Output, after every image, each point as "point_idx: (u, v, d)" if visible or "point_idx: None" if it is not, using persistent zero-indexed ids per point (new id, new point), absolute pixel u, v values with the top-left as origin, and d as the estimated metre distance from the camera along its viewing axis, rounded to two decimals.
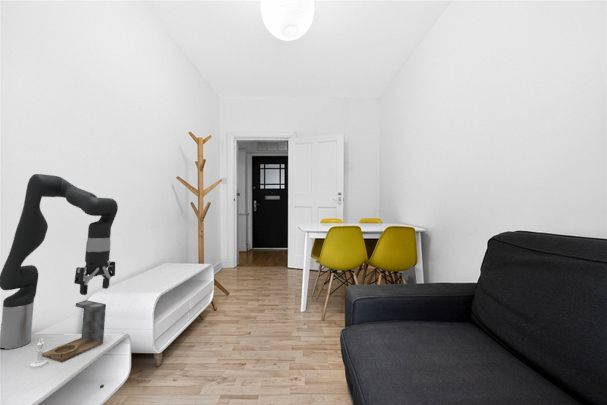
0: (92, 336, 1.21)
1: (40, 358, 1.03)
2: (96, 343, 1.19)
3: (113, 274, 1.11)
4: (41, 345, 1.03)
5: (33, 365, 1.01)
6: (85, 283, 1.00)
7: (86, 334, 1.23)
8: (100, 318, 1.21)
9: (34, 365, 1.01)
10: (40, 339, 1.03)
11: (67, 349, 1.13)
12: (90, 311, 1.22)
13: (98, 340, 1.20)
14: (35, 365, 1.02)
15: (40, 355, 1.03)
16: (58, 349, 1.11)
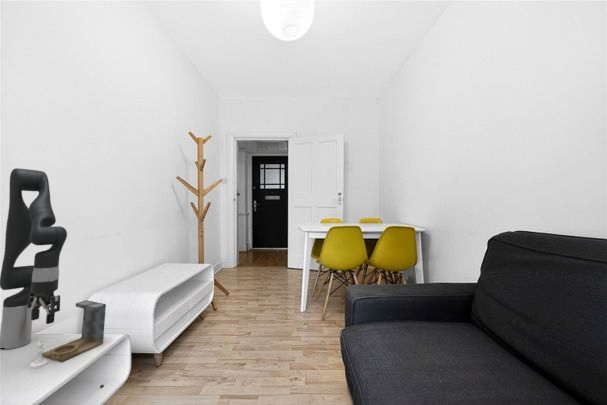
0: (92, 336, 1.21)
1: (40, 358, 1.03)
2: (96, 343, 1.19)
3: None
4: (41, 345, 1.03)
5: (33, 365, 1.01)
6: None
7: (86, 334, 1.23)
8: (100, 318, 1.21)
9: (34, 365, 1.01)
10: (40, 339, 1.03)
11: (67, 349, 1.13)
12: (90, 311, 1.22)
13: (98, 340, 1.20)
14: (35, 365, 1.02)
15: (40, 355, 1.03)
16: (58, 349, 1.11)
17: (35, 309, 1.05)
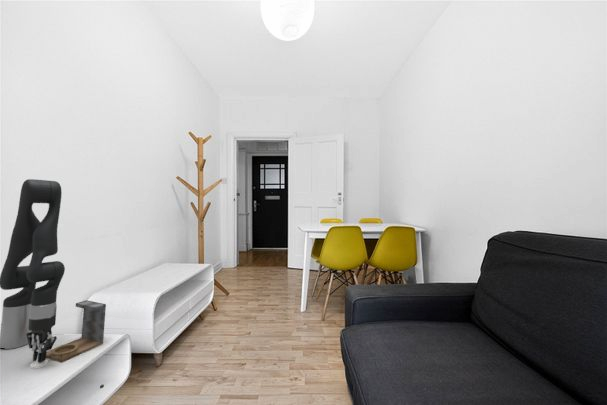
0: (92, 336, 1.21)
1: None
2: (96, 343, 1.19)
3: None
4: None
5: (33, 365, 1.01)
6: None
7: (86, 334, 1.23)
8: (100, 318, 1.21)
9: (34, 365, 1.01)
10: None
11: (67, 349, 1.13)
12: (90, 311, 1.22)
13: (98, 340, 1.20)
14: (35, 365, 1.02)
15: None
16: (58, 349, 1.11)
17: (37, 348, 1.04)
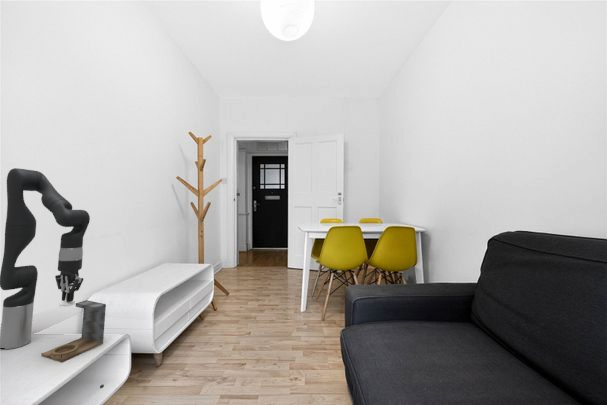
0: (92, 336, 1.21)
1: None
2: (96, 343, 1.19)
3: None
4: None
5: (62, 304, 1.09)
6: None
7: (86, 334, 1.23)
8: (100, 318, 1.21)
9: (63, 304, 1.09)
10: None
11: (67, 349, 1.13)
12: (90, 311, 1.22)
13: (98, 340, 1.20)
14: (64, 304, 1.09)
15: None
16: (58, 349, 1.11)
17: (66, 289, 1.11)
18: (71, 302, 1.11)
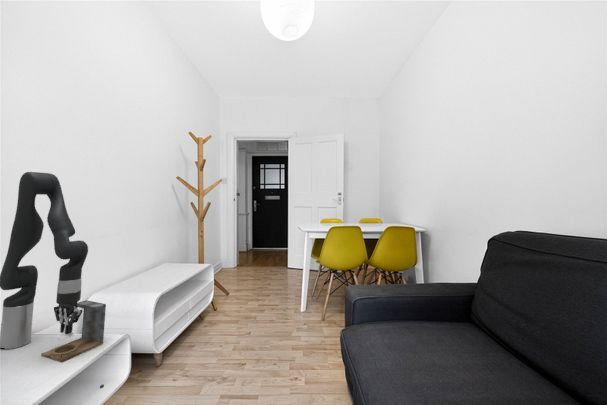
0: (92, 336, 1.21)
1: None
2: (96, 343, 1.19)
3: None
4: None
5: (61, 336, 1.09)
6: None
7: (86, 334, 1.23)
8: (100, 318, 1.21)
9: (62, 336, 1.09)
10: None
11: (67, 349, 1.13)
12: (90, 311, 1.22)
13: (98, 340, 1.20)
14: (62, 336, 1.09)
15: None
16: (58, 349, 1.11)
17: (64, 321, 1.11)
18: (70, 334, 1.11)
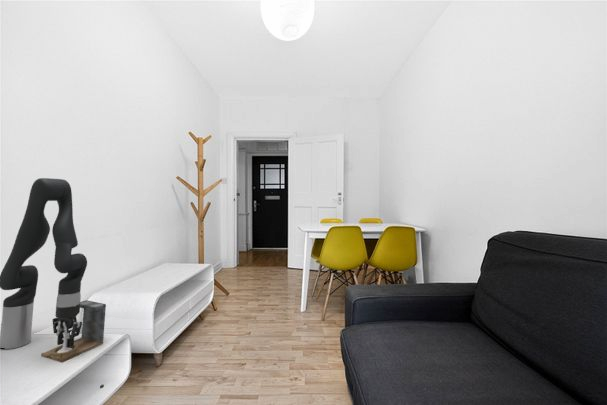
0: (92, 336, 1.21)
1: (65, 346, 1.11)
2: (96, 343, 1.19)
3: None
4: (66, 334, 1.11)
5: (59, 352, 1.09)
6: None
7: (86, 334, 1.23)
8: (100, 318, 1.21)
9: (60, 352, 1.09)
10: None
11: None
12: (90, 311, 1.22)
13: (98, 340, 1.20)
14: (61, 352, 1.09)
15: (65, 343, 1.11)
16: (58, 349, 1.11)
17: (61, 334, 1.12)
18: (68, 350, 1.11)
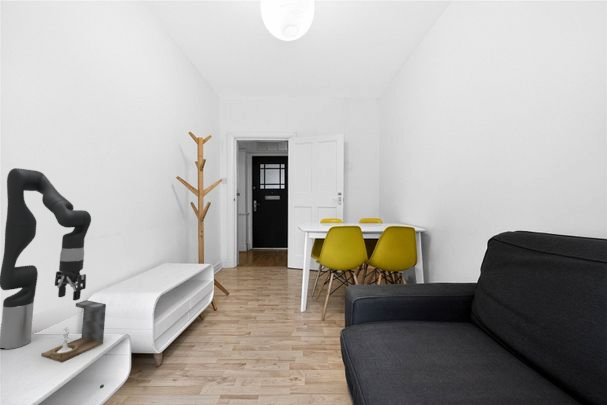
0: (92, 336, 1.21)
1: (65, 346, 1.11)
2: (96, 343, 1.19)
3: None
4: (66, 334, 1.11)
5: (59, 352, 1.09)
6: None
7: (86, 334, 1.23)
8: (100, 318, 1.21)
9: (60, 352, 1.09)
10: (65, 328, 1.11)
11: None
12: (90, 311, 1.22)
13: (98, 340, 1.20)
14: (61, 352, 1.09)
15: (65, 343, 1.11)
16: (58, 349, 1.11)
17: (62, 287, 1.13)
18: (68, 350, 1.11)
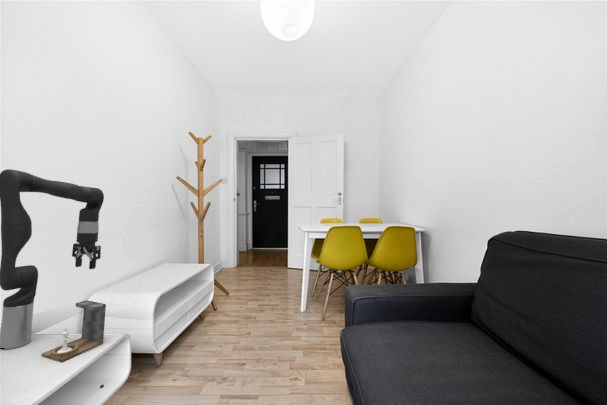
0: (92, 336, 1.21)
1: (65, 346, 1.11)
2: (96, 343, 1.19)
3: None
4: (66, 334, 1.11)
5: (59, 352, 1.09)
6: None
7: (86, 334, 1.23)
8: (100, 318, 1.21)
9: (60, 352, 1.09)
10: (65, 328, 1.11)
11: None
12: (90, 311, 1.22)
13: (98, 340, 1.20)
14: (61, 352, 1.09)
15: (65, 343, 1.11)
16: (58, 349, 1.11)
17: (78, 258, 1.23)
18: (68, 350, 1.11)
